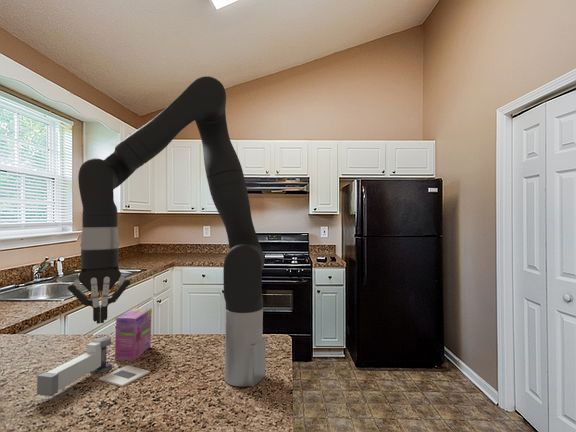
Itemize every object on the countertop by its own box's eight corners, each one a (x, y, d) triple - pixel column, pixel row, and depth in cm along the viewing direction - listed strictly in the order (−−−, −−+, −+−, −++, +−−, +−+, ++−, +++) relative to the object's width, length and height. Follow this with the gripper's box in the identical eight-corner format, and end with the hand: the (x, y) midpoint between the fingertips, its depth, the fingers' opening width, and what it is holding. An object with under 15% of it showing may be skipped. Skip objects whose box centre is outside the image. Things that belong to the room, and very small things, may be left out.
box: (134, 361, 90) (135, 318, 90) (114, 360, 90) (115, 317, 90) (151, 346, 100) (152, 308, 100) (133, 346, 100) (133, 307, 101)
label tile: (149, 372, 83) (149, 370, 83) (122, 386, 76) (122, 384, 76) (127, 366, 86) (127, 364, 86) (99, 379, 79) (99, 377, 79)
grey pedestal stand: (116, 367, 86) (116, 344, 86) (98, 375, 81) (98, 350, 82) (103, 363, 88) (103, 341, 88) (85, 371, 83) (85, 347, 84)
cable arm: (99, 359, 87) (100, 336, 87) (114, 360, 86) (114, 337, 87) (35, 394, 69) (36, 365, 69) (52, 396, 68) (53, 367, 69)
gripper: (130, 244, 82) (130, 314, 81) (66, 247, 75) (66, 323, 74) (133, 246, 75) (133, 322, 75) (64, 249, 68) (63, 332, 68)
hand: (100, 322), depth 75 cm, fingers closed
